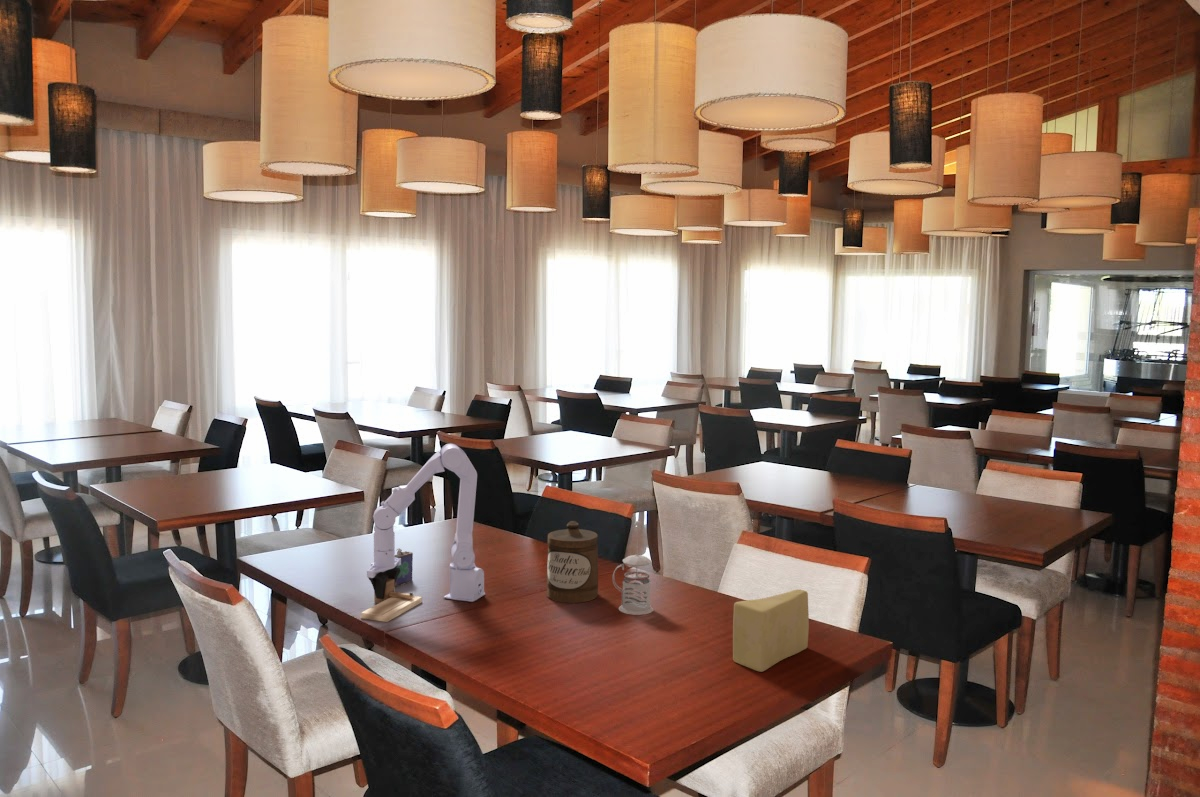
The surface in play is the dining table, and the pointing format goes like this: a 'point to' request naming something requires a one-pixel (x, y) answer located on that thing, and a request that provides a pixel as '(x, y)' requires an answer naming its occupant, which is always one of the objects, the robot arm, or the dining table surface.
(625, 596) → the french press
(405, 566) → the flask
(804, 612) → the cheese
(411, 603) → the board
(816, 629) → the dining table surface
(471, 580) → the robot arm
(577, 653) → the dining table surface
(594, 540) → the wooden container
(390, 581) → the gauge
